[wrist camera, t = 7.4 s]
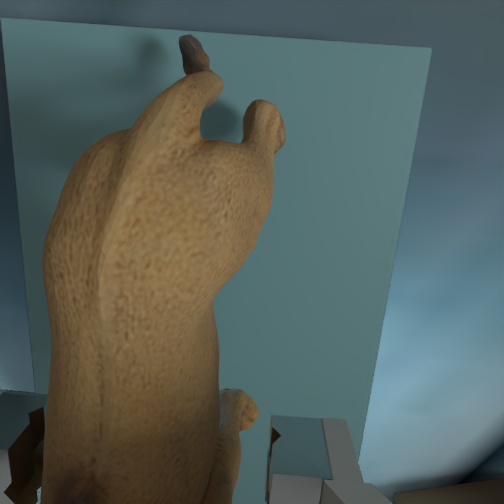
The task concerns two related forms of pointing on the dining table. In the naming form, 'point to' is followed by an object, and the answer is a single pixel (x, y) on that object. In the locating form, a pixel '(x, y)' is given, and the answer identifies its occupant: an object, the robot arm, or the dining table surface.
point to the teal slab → (282, 205)
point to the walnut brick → (456, 494)
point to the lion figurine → (152, 301)
